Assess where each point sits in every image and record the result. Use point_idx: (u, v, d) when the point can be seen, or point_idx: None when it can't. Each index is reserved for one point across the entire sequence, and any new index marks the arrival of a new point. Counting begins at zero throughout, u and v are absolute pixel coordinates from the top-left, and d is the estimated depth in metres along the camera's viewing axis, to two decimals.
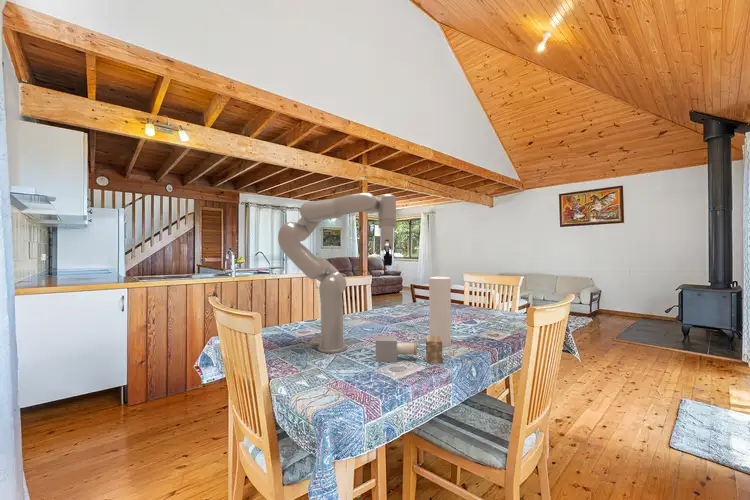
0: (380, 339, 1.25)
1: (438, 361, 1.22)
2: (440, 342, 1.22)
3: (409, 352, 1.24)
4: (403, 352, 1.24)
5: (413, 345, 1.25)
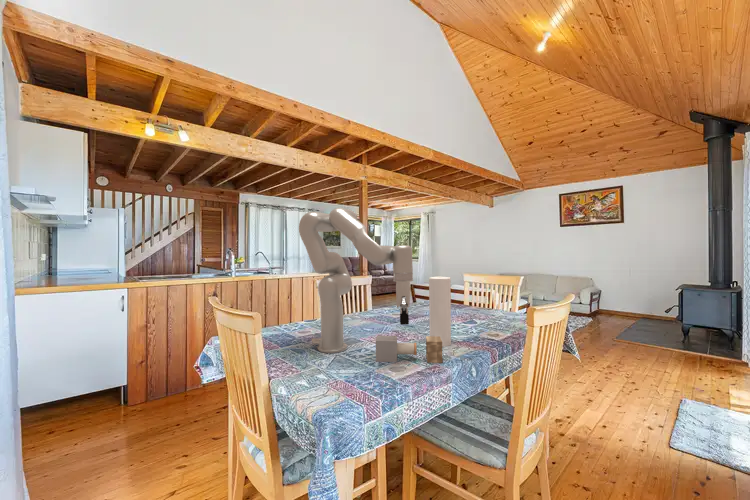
0: (380, 339, 1.25)
1: (438, 361, 1.22)
2: (440, 342, 1.22)
3: (409, 352, 1.24)
4: (403, 352, 1.24)
5: (413, 345, 1.25)
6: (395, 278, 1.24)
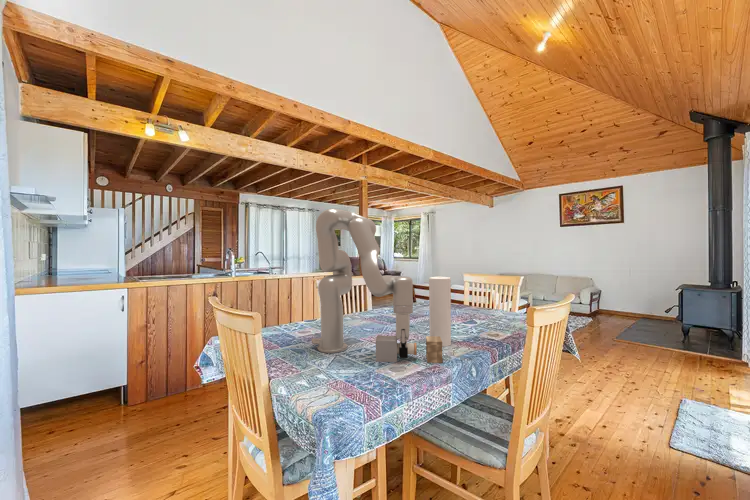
0: (380, 339, 1.25)
1: (438, 361, 1.22)
2: (440, 342, 1.22)
3: (409, 352, 1.24)
4: None
5: (413, 345, 1.25)
6: (395, 310, 1.24)
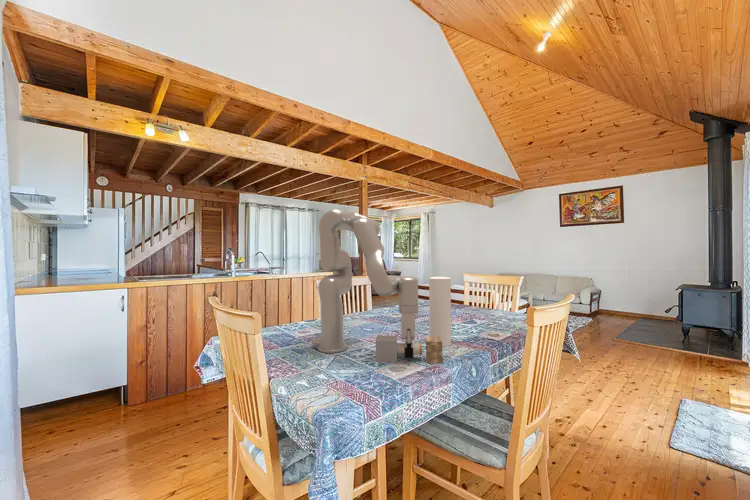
0: (380, 339, 1.25)
1: (438, 361, 1.22)
2: (440, 342, 1.22)
3: (414, 352, 1.24)
4: None
5: (418, 345, 1.24)
6: (400, 310, 1.24)
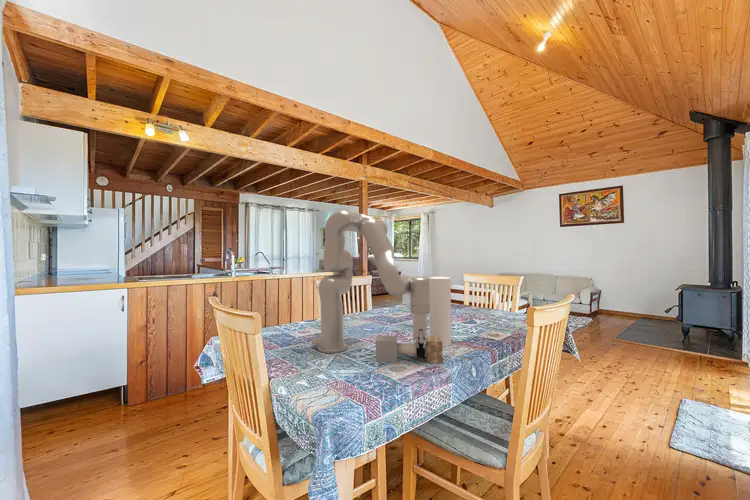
0: (380, 339, 1.25)
1: (438, 361, 1.22)
2: (440, 342, 1.22)
3: (426, 352, 1.24)
4: None
5: None
6: (412, 310, 1.23)
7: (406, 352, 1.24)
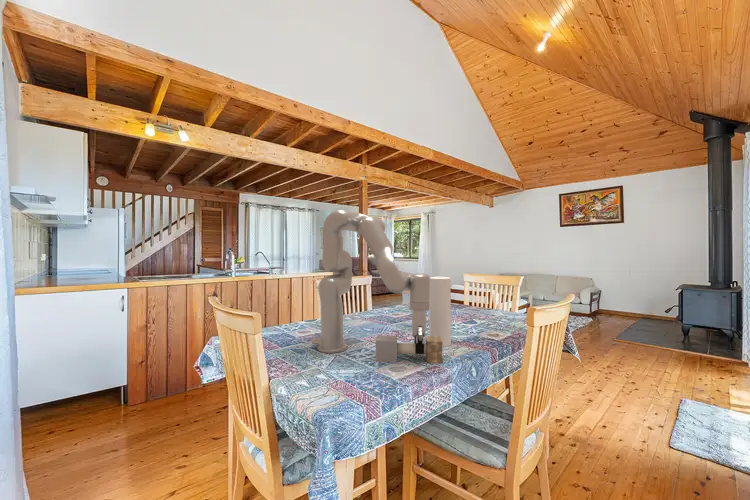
0: (380, 339, 1.25)
1: (438, 361, 1.22)
2: (440, 342, 1.22)
3: (426, 352, 1.24)
4: None
5: None
6: (412, 307, 1.23)
7: (406, 352, 1.24)
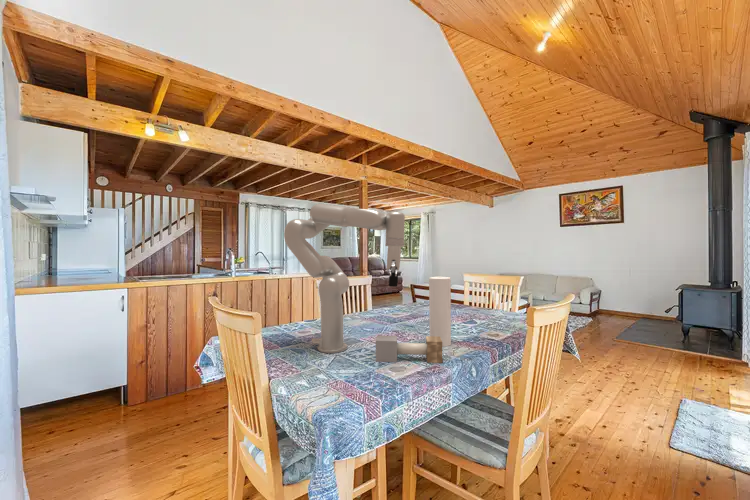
0: (380, 339, 1.25)
1: (438, 361, 1.22)
2: (440, 342, 1.22)
3: (426, 352, 1.24)
4: (420, 352, 1.24)
5: None
6: (387, 243, 1.30)
7: (406, 352, 1.24)
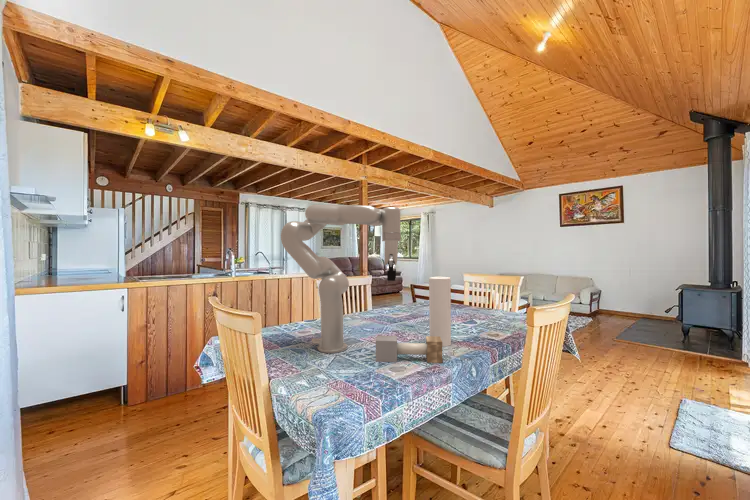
0: (380, 339, 1.25)
1: (438, 361, 1.22)
2: (440, 342, 1.22)
3: (426, 352, 1.24)
4: (420, 352, 1.24)
5: None
6: (383, 238, 1.31)
7: (406, 352, 1.24)
